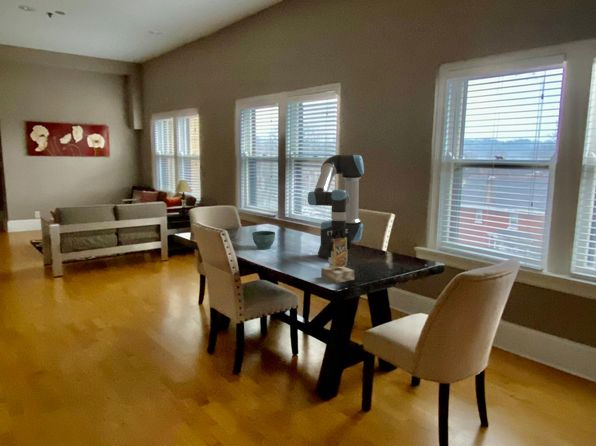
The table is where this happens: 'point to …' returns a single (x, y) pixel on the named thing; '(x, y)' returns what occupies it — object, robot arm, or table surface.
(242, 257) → the table surface
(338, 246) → the candy box
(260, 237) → the flower pot
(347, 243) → the robot arm
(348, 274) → the birch stand
